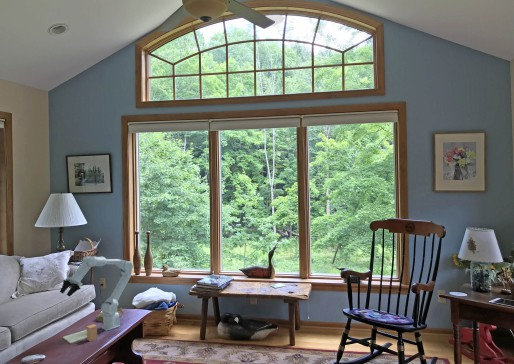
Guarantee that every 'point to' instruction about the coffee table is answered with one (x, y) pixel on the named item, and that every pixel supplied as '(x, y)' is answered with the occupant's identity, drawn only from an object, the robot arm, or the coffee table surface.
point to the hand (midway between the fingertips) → (64, 294)
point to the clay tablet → (100, 316)
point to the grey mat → (76, 336)
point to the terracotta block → (91, 332)
